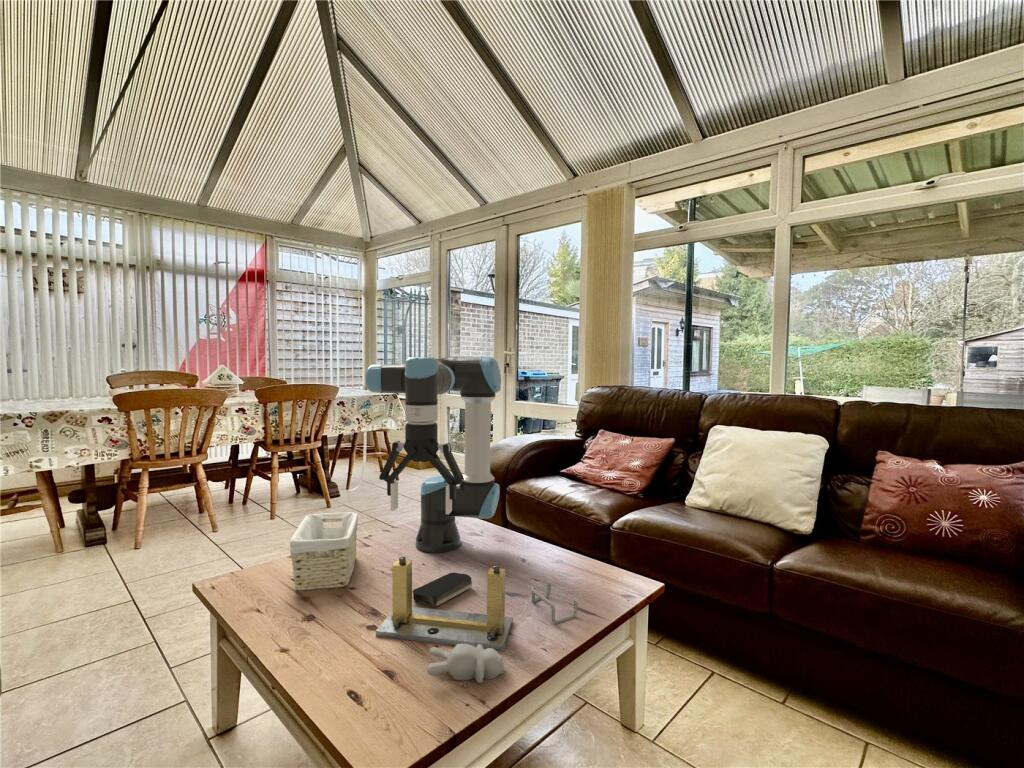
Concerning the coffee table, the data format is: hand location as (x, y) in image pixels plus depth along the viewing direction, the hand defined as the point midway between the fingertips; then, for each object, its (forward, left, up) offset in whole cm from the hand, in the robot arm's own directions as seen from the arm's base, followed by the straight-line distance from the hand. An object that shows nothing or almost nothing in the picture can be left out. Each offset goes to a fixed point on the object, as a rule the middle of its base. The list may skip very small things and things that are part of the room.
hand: (421, 510), depth 117 cm
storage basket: (-21, -37, -28) cm, 51 cm away
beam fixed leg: (+2, +7, -26) cm, 27 cm away
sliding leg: (+2, -4, -26) cm, 27 cm away
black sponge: (-15, +1, -28) cm, 32 cm away
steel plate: (+1, +7, -28) cm, 28 cm away
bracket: (-13, +31, -28) cm, 44 cm away
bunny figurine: (+16, +16, -28) cm, 36 cm away
